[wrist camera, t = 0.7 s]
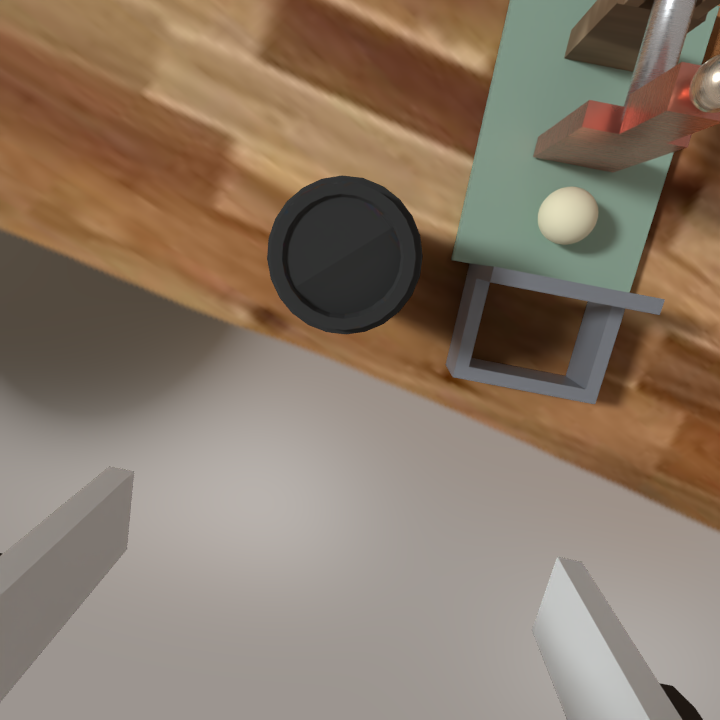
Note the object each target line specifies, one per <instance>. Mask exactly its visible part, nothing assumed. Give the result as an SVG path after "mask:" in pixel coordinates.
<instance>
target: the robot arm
mask: <svg viewBox="0 0 720 720" xmlns="http://www.w3.org/2000/svg"><path fill="white" fill-rule="evenodd" d="M133 478H134V471H130V470H125V469H120V468H115V467H108V468H107V469H105V470H104V471H103V472H102V473H101V474H99V475H98V476H97V477H96V478H95V479H93V480H92V481H91V482H90V483H88V484H87V485H86V486H85V487H84V488H82V489H81V490H80V491H79V492H77V493H76V494H75V495H74V496H73V497H72V498H70V499H69V500H68V501H67V502H65V503H64V504H63V505H62V506H60V507H59V508H58V509H57V510H56V511H54V512H53V513H52V514H51V515H50V516H48V517H47V518H46V519H45V520H43V521H42V522H41V523H40V524H39V525H37V526H36V527H35V528H34V529H33V530H31V531H30V532H29V533H28V534H27V535H25V536H24V537H23V538H22V539H20V540H19V541H18V542H17V543H15V544H14V545H13V546H12V547H11V548H10V549H8V550H7V551H6V552H5V553H3V554H2V553H0V702H1V701H2V700H3V698H4V697H5V696H6V695H7V694H8V692H9V691H10V690H11V688H13V686H14V685H15V684H16V683H17V682H18V680H19V679H20V678H21V677H22V675H23V674H24V673H25V672H26V670H27V669H28V668H29V667H30V666H31V665H32V663H33V662H34V661H35V660H36V659H37V657H38V656H39V655H40V654H41V653H42V651H43V650H44V649H45V648H46V646H47V645H48V644H49V643H50V642H51V640H52V639H53V638H54V637H55V636H56V634H57V633H58V632H59V631H60V630H61V628H62V627H63V626H64V625H65V624H66V622H67V621H68V620H69V619H70V617H71V616H72V615H73V614H74V613H75V611H76V610H77V609H78V608H79V606H80V605H81V604H82V603H83V602H84V601H85V599H86V598H87V597H88V596H89V595H90V593H91V592H92V591H93V590H94V588H95V587H96V586H97V585H98V583H99V582H100V581H101V580H102V579H103V578H104V576H105V575H106V574H107V573H108V572H109V570H110V569H111V568H112V567H113V565H114V564H115V563H116V562H117V561H118V559H119V558H120V557H121V556H122V555H123V553H124V552H125V551H126V549H127V543H128V532H129V521H130V509H131V498H132V488H133ZM532 632H533V635H534V637H535V639H536V642H537V645H538V647H539V650H540V652H541V655H542V657H543V660H544V663H545V665H546V667H547V670H548V673H549V675H550V678H551V680H552V683H553V686H554V688H555V691H556V693H557V696H558V698H559V701H560V703H561V706H562V708H563V711H564V713H565V716H566V719H567V720H703V719H702V718H701V716H700V715H699V713H698V712H697V710H696V709H695V708H694V706H693V705H692V704H690V703H689V702H688V701H687V700H686V699H685V698H684V697H683V696H682V695H681V694H680V693H679V692H678V691H677V690H676V689H675V688H674V687H673V686H670V685H665V684H660V683H659V682H658V681H657V679H656V678H655V676H654V675H653V673H652V671H651V670H650V668H649V667H648V665H647V663H646V662H645V660H644V659H643V657H642V655H641V654H640V652H639V651H638V649H637V648H636V646H635V644H634V643H633V641H632V640H631V638H630V637H629V635H628V633H627V632H626V630H625V629H624V627H623V626H622V624H621V622H620V621H619V619H618V618H617V616H616V615H615V613H614V611H613V610H612V608H611V607H610V605H609V604H608V602H607V601H606V599H605V597H604V596H603V594H602V593H601V591H600V589H599V588H598V586H597V585H596V583H595V582H594V580H593V578H592V577H591V575H590V574H589V572H588V570H587V569H586V568H585V566H584V564H583V563H582V562H581V561H576V560H571V559H566V558H561V557H557V559H556V563H555V565H554V568H553V571H552V574H551V577H550V580H549V582H548V585H547V588H546V592H545V594H544V597H543V600H542V603H541V606H540V608H539V611H538V614H537V617H536V620H535V623H534V626H533V629H532Z"/></svg>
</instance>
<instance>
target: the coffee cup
mask: <svg viewBox="0 0 720 720" xmlns="http://www.w3.org/2000/svg"><path fill="white" fill-rule="evenodd" d="M267 260H268V266H269V271H270V276H271V280H272V282H273V285H274V287H275V289H276V291H277V293H278V295H279V297H280V299H281V300H282V301H283V302H284V304H285V305H286V306H287V307H288V308H289V310H290V311H291V312H292V313H293V314H294V315H296V316H297V317H298V318H300V319H301V320H302V321H304V322H305V323H307V324H308V325H310V326H313V327H315V328H318V329H320V330H323V331H325V332H331V333H339V334H352V333H359V332H365V331H368V330H370V329H373V328H375V327H377V326H380V325H382V324H384V323H385V322H386V321H388V320H389V319H390V318H392V317H393V316H394V315H396V314H397V313H398V312H399V311H400V310H401V309H402V307H403V306H404V305H405V303H406V302H407V301H408V300H409V298H410V297H411V296H412V294H413V291H414V289H415V286H416V284H417V282H418V279H419V277H420V271H421V264H422V248H421V239H420V234H419V232H418V229H417V227H416V224H415V222H414V219H413V216H412V215H411V214H410V212H409V211H408V210H407V208H406V207H405V206H404V204H403V203H402V202H401V200H400V199H399V198H397V197H396V196H395V195H394V194H392V193H391V192H390V191H388V190H387V189H386V188H385V187H383V186H381V185H379V184H376V183H374V182H371V181H369V180H366V179H364V178H358V177H350V176H337V177H331V178H325V179H321V180H318V181H316V182H314V183H312V184H310V185H308V186H306V187H304V188H302V189H301V190H300V191H299V192H297V193H296V194H295V195H294V196H293V197H292V198H290V199H289V200H288V201H287V202H286V204H285V205H284V207H283V208H282V210H281V211H280V213H279V214H278V216H277V217H276V219H275V221H274V224H273V227H272V230H271V233H270V236H269V242H268V256H267Z"/></svg>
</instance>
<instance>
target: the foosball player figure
mask: <svg viewBox="0 0 720 720" xmlns="http://www.w3.org/2000/svg"><path fill="white" fill-rule="evenodd" d="M653 2H654V0H597V1H596V2H595V3H594V4H593V6H592V7H591V8H590V9H589V10H588V11H587V12H586V14H585V15H584V16H583V17H582V18H581V19H580V21H579V22H578V23H577V24H576V25H575V26H574V27H573V29H572V30H571V33H570V37H569V41H568V45H567V49H566V52H565V56H564V58H565V59H570V60H575V61H580V62H586V63H591V64H596V65H601V66H606V67H611V68H616V69H621V70H627V71H632V72H633V71H634V68H635V65H636V61H637V58H638V54H639V51H640V47H641V44H642V41H643V37H644V34H645V30H646V27H647V23H648V20H649V16H650V13H651V9H652V6H653ZM719 4H720V0H697V2H696V5H695V9H694V12H693V15H692V19H691V22H690V25H689V28H688V32H687V33H689V32H690V31H691V30H693V29H694V28H696V27H697V26H699V25H700V24H701V23H703V22H704V21H705V20H706V17H707V14H708V12H709V11H710V10H712V9H713V8H714V7H716V6H717V5H719Z"/></svg>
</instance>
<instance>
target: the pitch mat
mask: <svg viewBox="0 0 720 720" xmlns="http://www.w3.org/2000/svg"><path fill="white" fill-rule="evenodd" d="M596 1H597V0H510V3H509V7H508V11H507V16H506V20H505V25H504V29H503V33H502V38H501V42H500V47H499V51H498V55H497V60H496V64H495V69H494V73H493V78H492V82H491V86H490V91H489V95H488V100H487V104H486V108H485V113H484V117H483V122H482V126H481V131H480V135H479V139H478V144H477V148H476V153H475V157H474V161H473V166H472V170H471V175H470V179H469V183H468V188H467V192H466V197H465V201H464V206H463V210H462V214H461V219H460V223H459V228H458V232H457V236H456V241H455V245H454V250H453V254H452V258H451V260H455V261H460V262H465V263H470V264H478V265H486V266H493V267H499V268H504V269H509V270H514V271H520V272H525V273H530V274H535V275H540V276H545V277H551V278H556V279H561V280H566V281H571V282H577V283H582V284H587V285H592V286H597V287H602V288H608V289H613V290H618V291H623V292H628V293H630V289H631V286H632V283H633V280H634V277H635V274H636V270H637V267H638V264H639V261H640V258H641V254H642V251H643V248H644V245H645V242H646V239H647V235H648V232H649V229H650V226H651V223H652V220H653V216H654V213H655V210H656V207H657V204H658V200H659V197H660V194H661V191H662V188H663V185H664V181H665V178H666V175H667V172H668V169H669V166H670V162H671V159H672V156H673V153H674V152H672V153H669V154H667V155H664V156H661V157H658V158H655V159H652V160H649V161H646V162H643V163H640V164H637V165H634V166H631V167H628V168H625V169H622V170H619V171H616V172H613V173H612V172H607V171H602V170H597V169H592V168H587V167H582V166H576V165H571V164H566V163H561V162H556V161H551V160H545V159H540V158H535V157H533V155H534V151H535V147H536V143H537V139H538V136H540V135H541V134H543V133H544V132H545V131H547V130H548V129H550V128H551V127H552V126H554V125H555V124H557V123H558V122H559V121H561V120H562V119H563V118H565V117H566V116H568V115H569V114H570V113H572V112H573V111H575V110H576V109H577V108H579V107H580V106H581V105H583V104H584V103H586V102H587V101H588V100H593V101H598V102H603V103H608V104H613V105H619V106H624V103H625V100H626V96H627V93H628V89H629V86H630V82H631V79H632V75H633V72H634V71H633V72H632V71H627V70H621V69H616V68H611V67H606V66H601V65H596V64H591V63H586V62H580V61H575V60H570V59H565V58H564V56H565V52H566V49H567V45H568V41H569V37H570V33H571V30H572V29H573V27H574V26H575V25H576V24H577V23H578V22H579V21H580V19H581V18H582V17H583V16H584V15H585V14H586V12H587V11H588V10H589V9H590V8H591V7H592V6H593V4H594V3H595V2H596ZM719 7H720V6H716V7H714V8H713V9H712V10H710V11H709V12H708V14H707V17H706V20H705V21H704V22H703V23H701V24H700V25H699V26H697V27H696V28H694V29H693V30H691V31H690V32H689V33H687V35H686V38H685V41H684V45H683V48H682V51H681V55H680V58H679V61H678V64H679V63H681V62H686V63H691V64H696V65H701V64H702V61H703V58H704V54H705V51H706V48H707V45H708V42H709V38H710V35H711V32H712V29H713V26H714V23H715V19H716V16H717V13H718V10H719ZM678 64H677V65H678ZM564 187H579V188H582V189H584V190H586V191H588V192H589V193H590V194H591V195H592V196H593V197H594V199H595V200H596V203H597V206H598V219H597V222H596V225H595V227H594V228H593V230H592V231H591V232H590V234H589V235H588V236H587V237H585V238H584V239H582V240H581V241H579V242H576V243H573V244H568V245H561V244H556V243H553V242H551V241H549V240H548V239H547V238H545V237H544V235H543V234H542V233H541V231H540V229H539V226H538V212H539V209H540V206H541V204H542V203H543V201H544V200H545V199H546V198H547V197H548V196H549V195H550V194H551V193H552V192H554V191H556V190H558V189H560V188H564Z"/></svg>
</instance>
